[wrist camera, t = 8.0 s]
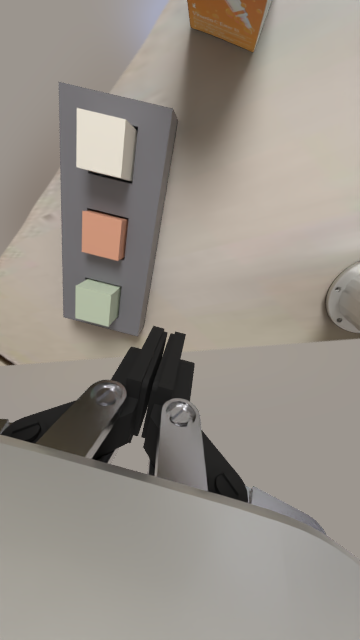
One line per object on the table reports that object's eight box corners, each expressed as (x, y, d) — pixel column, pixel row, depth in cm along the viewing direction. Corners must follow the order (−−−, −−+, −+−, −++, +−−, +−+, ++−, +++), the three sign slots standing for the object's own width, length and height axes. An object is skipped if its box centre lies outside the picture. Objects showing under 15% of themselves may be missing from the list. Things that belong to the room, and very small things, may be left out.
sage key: (122, 285, 39) (111, 295, 35) (119, 314, 42) (108, 326, 37) (91, 277, 39) (75, 285, 35) (90, 306, 42) (75, 318, 37)
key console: (177, 120, 31) (172, 108, 27) (143, 326, 45) (137, 336, 42) (76, 96, 31) (58, 81, 27) (75, 308, 45) (63, 317, 42)
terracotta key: (133, 218, 36) (121, 220, 31) (129, 254, 38) (118, 260, 34) (98, 210, 36) (82, 210, 32) (97, 246, 39) (81, 251, 34)
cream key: (139, 132, 30) (125, 119, 25) (133, 182, 32) (120, 178, 28) (97, 122, 30) (76, 107, 25) (95, 172, 32) (76, 167, 28)
